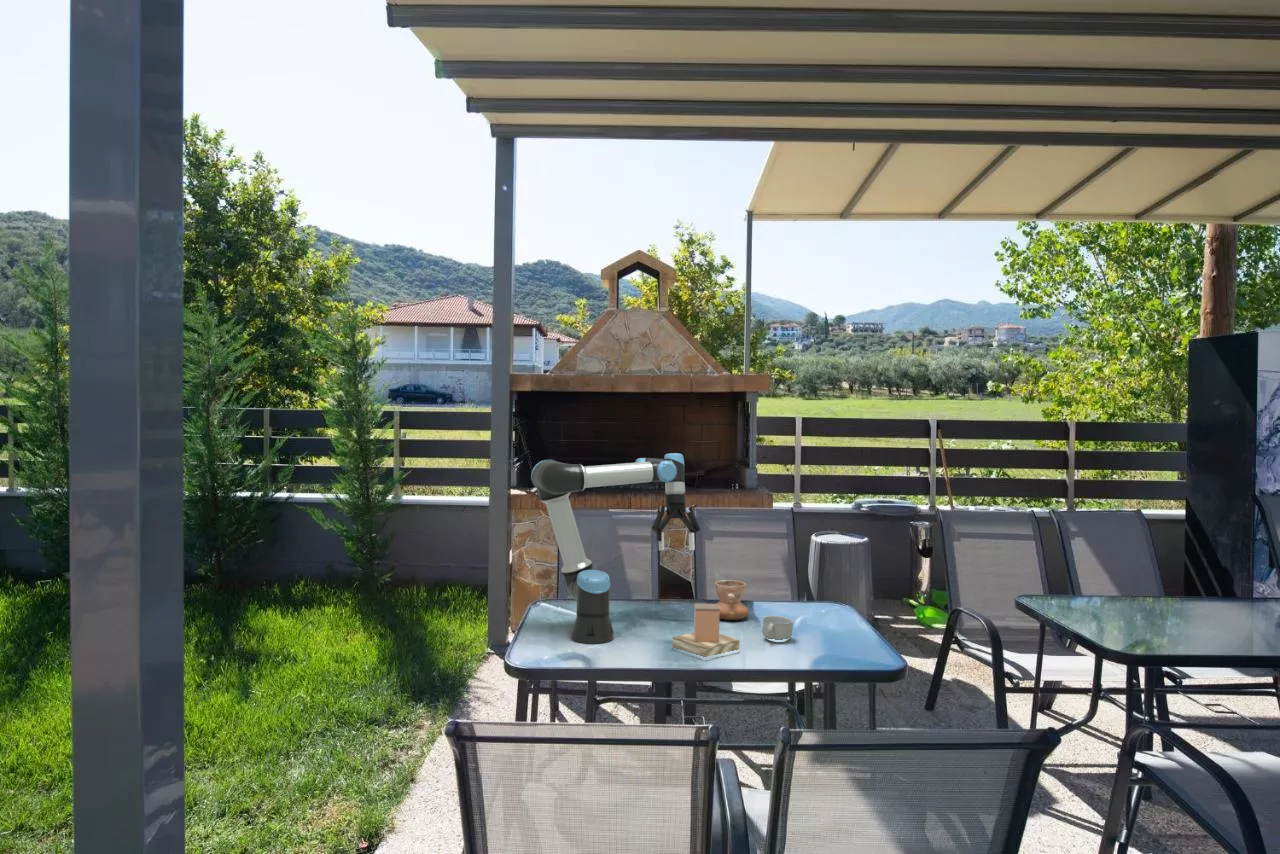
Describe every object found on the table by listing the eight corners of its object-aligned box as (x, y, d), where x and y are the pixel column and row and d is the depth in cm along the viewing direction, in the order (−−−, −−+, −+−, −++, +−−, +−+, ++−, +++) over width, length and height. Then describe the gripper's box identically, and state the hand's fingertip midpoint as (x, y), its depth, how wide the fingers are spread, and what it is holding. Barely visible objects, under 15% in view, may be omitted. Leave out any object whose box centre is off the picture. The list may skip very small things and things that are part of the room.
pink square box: (694, 641, 294) (695, 608, 294) (693, 635, 302) (694, 603, 301) (718, 641, 293) (719, 609, 293) (717, 635, 301) (717, 604, 301)
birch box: (705, 662, 287) (705, 647, 287) (672, 651, 299) (672, 636, 299) (739, 654, 297) (739, 639, 297) (706, 644, 309) (706, 629, 309)
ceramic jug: (749, 624, 337) (750, 587, 336) (711, 623, 337) (712, 586, 337) (746, 613, 354) (747, 578, 354) (711, 612, 355) (711, 577, 355)
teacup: (772, 635, 321) (772, 613, 321) (798, 640, 314) (799, 618, 314) (752, 642, 310) (752, 620, 310) (778, 648, 303) (779, 625, 303)
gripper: (696, 496, 344) (698, 550, 340) (642, 494, 331) (643, 550, 327) (707, 494, 337) (709, 549, 333) (652, 491, 325) (653, 549, 321)
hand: (676, 550), depth 330 cm, fingers open, 13 cm apart
